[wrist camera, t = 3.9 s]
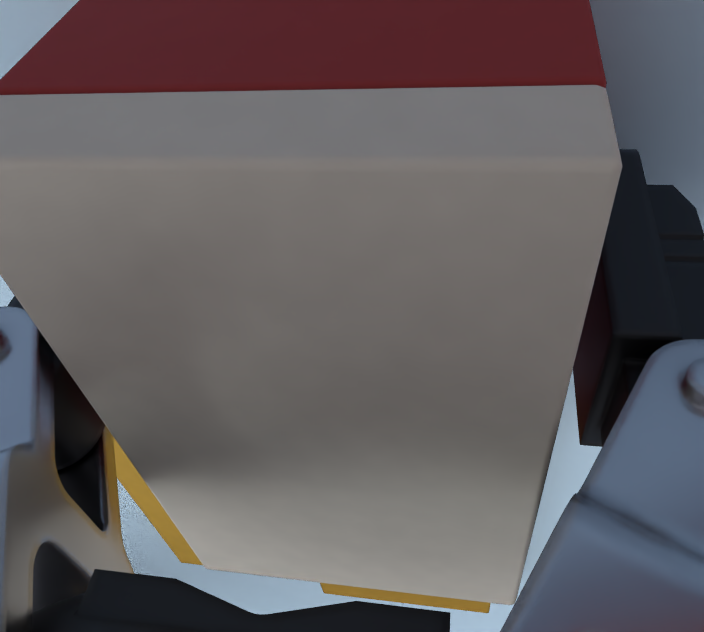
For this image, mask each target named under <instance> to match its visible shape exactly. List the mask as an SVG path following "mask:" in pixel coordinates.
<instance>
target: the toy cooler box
mask: <svg viewBox="0 0 704 632" xmlns="http://www.w3.org/2000/svg"><path fill="white" fill-rule="evenodd" d="M606 84H607V83H606V78H605V73H604V68H603V64H602V59H601V54H600V49H599V44H598V40H597V35H596V30H595V25H594V21H593V16H592V11H591V6H590V2H589V0H79V1H78V2H77V3H76V4H75V5H74V6H73V7H72V8H71V9H70V10H69V11H68V12H67V13H66V14H65V15H64V16H63V17H62V18H61V19H60V20H59V21H58V22H57V23H56V24H55V25H54V26H53V27H52V28H51V29H50V30H49V31H48V32H47V33H46V34H45V35H44V36H43V38H42V39H41V40H40V41H39V42H38V43H37V44H36V45H35V46H34V47H33V48H32V49H31V50H30V51H29V52H28V53H27V54H26V55H25V56H24V57H23V58H22V59H21V60H20V61H19V62H18V63H17V64H16V65H15V66H14V67H13V68H12V69H11V70H10V71H9V72H8V73H7V74H6V75H5V76H4V77H3V78H2V79H1V80H0V275H1V276H2V278H3V279H4V281H5V282H6V284H7V285H8V286H9V288H10V289H11V291H12V292H13V294H14V295H15V297H16V298H17V299H18V301H19V302H20V304H21V305H22V307H23V308H24V309H25V311H26V312H27V314H28V315H29V317H30V318H31V319H32V321H33V322H34V324H35V325H36V327H37V328H38V329H39V331H40V332H41V334H42V335H43V337H44V338H45V339H46V341H47V342H48V344H49V345H50V347H51V348H52V349H53V351H54V352H55V354H56V355H57V357H58V358H59V360H60V361H61V362H62V364H63V365H64V367H65V368H66V370H67V371H68V372H69V374H70V375H71V377H72V378H73V380H74V381H75V382H76V384H77V385H78V387H79V388H80V390H81V391H82V392H83V394H84V395H85V397H86V398H87V400H88V401H89V402H90V404H91V405H92V407H93V408H94V410H95V411H96V412H97V414H98V415H99V417H100V418H101V420H102V421H103V423H104V424H105V425H106V427H107V428H108V430H109V431H110V433H111V434H112V435H113V437H114V438H115V440H116V441H117V443H118V444H119V445H120V447H121V448H122V450H123V451H124V453H125V454H126V455H127V457H128V458H129V460H130V461H131V463H132V464H133V465H134V467H135V468H136V470H137V471H138V473H139V474H140V475H141V477H142V478H143V480H144V481H145V483H146V484H147V486H148V487H149V488H150V490H151V491H152V493H153V494H154V496H155V497H156V498H157V500H158V501H159V503H160V504H161V506H162V507H163V508H164V510H165V511H166V513H167V514H168V516H169V517H170V518H171V520H172V521H173V523H174V524H175V526H176V527H177V528H178V530H179V531H180V533H181V534H182V536H183V537H184V538H185V540H186V541H187V543H188V544H189V546H190V547H191V549H192V550H193V551H194V553H195V554H196V556H197V557H198V559H199V560H200V561H201V563H202V564H203V566H204V567H205V568H207V569H210V570H219V571H227V572H236V573H244V574H253V575H261V576H269V577H278V578H286V579H295V580H303V581H311V582H320V583H328V584H337V585H345V586H353V587H362V588H370V589H379V590H387V591H396V592H404V593H412V594H421V595H429V596H438V597H446V598H454V599H463V600H471V601H480V602H488V603H496V604H505V605H512V604H514V603H515V601H516V598H517V594H518V590H519V586H520V582H521V578H522V573H523V569H524V565H525V561H526V557H527V553H528V549H529V545H530V541H531V537H532V533H533V529H534V525H535V520H536V516H537V512H538V508H539V504H540V500H541V496H542V492H543V488H544V484H545V480H546V476H547V472H548V467H549V463H550V459H551V455H552V451H553V447H554V443H555V439H556V435H557V431H558V427H559V423H560V419H561V414H562V410H563V406H564V402H565V398H566V394H567V390H568V386H569V382H570V378H571V374H572V370H573V366H574V361H575V357H576V353H577V349H578V345H579V341H580V337H581V333H582V329H583V325H584V321H585V317H586V313H587V308H588V304H589V300H590V296H591V292H592V288H593V284H594V280H595V276H596V272H597V268H598V264H599V260H600V255H601V251H602V247H603V243H604V239H605V235H606V231H607V227H608V223H609V219H610V215H611V211H612V207H613V202H614V198H615V194H616V190H617V186H618V182H619V178H620V174H621V170H622V161H621V156H620V152H619V147H618V142H617V137H616V132H615V128H614V123H613V118H612V113H611V108H610V104H609V99H608V95H607V91H606Z"/></svg>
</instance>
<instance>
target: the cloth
mask: <svg viewBox="0 0 704 632" xmlns="http://www.w3.org/2000/svg"><path fill="white" fill-rule="evenodd" d="M113 439H114V451H115V463H116V475H117V478H118V480H119V481H120V482H121V484H122V485H123V486H124V488H125V489H126V490H127V492H128V493H129V494H130V496H131V497H132V498H133V499H134V501H135V502H136V503H137V505H138V506H139V507H140V509H141V510H142V511H143V513H144V514H145V515H146V517H147V518H148V519H149V521H150V522H151V523H152V525H153V526H154V527H155V529H156V530H157V531H158V533H159V534H160V535H161V536H162V538H163V539H164V540H165V542H166V543H167V544H168V546H169V547H170V548H171V550H172V551H173V552H174V554H175V555H176V556H177V558H178V559H179V560H180V562H182V563H190V564H198V565H203V564H202V563H201V561H200V560H199V559H198V557H197V556H196V554H195V553H194V551H193V550H192V549H191V547H190V546H189V544H188V543H187V541H186V540H185V538H184V537H183V536H182V534H181V533H180V531H179V530H178V528H177V527H176V526H175V524H174V523H173V521H172V520H171V518H170V517H169V516H168V514H167V513H166V511H165V510H164V508H163V507H162V506H161V504H160V503H159V501H158V500H157V498H156V497H155V496H154V494H153V493H152V491H151V490H150V488H149V487H148V486H147V484H146V483H145V481H144V480H143V478H142V477H141V475H140V474H139V473H138V471H137V470H136V468H135V467H134V465H133V464H132V463H131V461H130V460H129V458H128V457H127V455H126V454H125V453H124V451H123V450H122V448H121V447H120V445H119V444H118V443H117V441H116V440H115V438H114V437H113ZM320 584H321V587H322V589H323V592H324V593H327V594H335V595H343V596H351V597H359V598H368V599H376V600H384V601H392V602H401V603H409V604H417V605H425V606H433V607H442V608H450V609H458V610H466V611H475V612H483V613H489V609H490V603H488V602H480V601H471V600H463V599H454V598H446V597H438V596H429V595H421V594H412V593H404V592H396V591H387V590H379V589H370V588H362V587H353V586H345V585H337V584H328V583H320Z"/></svg>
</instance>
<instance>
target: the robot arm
mask: <svg viewBox="0 0 704 632" xmlns="http://www.w3.org/2000/svg"><path fill="white" fill-rule="evenodd" d="M619 152H620V156H621V161H622V170H621V174H620V178H619V182H618V186H617V190H616V194H615V198H614V202H613V207H612V211H611V215H610V219H609V223H608V227H607V231H606V235H605V239H604V243H603V247H602V251H601V255H600V260H599V264H598V268H597V272H596V276H595V280H594V284H593V288H592V292H591V296H590V300H589V304H588V308H587V313H586V317H585V321H584V325H583V329H582V333H581V337H580V341H579V345H578V349H577V353H576V357H575V361H574V366H573V374H574V385H575V396H576V407H577V418H578V429H579V440H580V445H588V446H601V447H602V449H601V451H600V453H599V455H598V457H597V459H596V461H595V462H594V464H593V466H592V468H591V470H590V472H589V474H588V476H587V478H586V480H585V482H584V484H583V485H582V487H581V489H580V490H579V492H578V493H577V494H576V493H575V494H574V495H573V497H572V498H571V500H570V501H569V503H568V505H567V506H566V508H565V510H564V512H563V513H562V515H561V517H560V519H559V521H558V523H557V525H556V526H555V528H554V530H553V532H552V534H551V536H550V538H549V540H548V542H547V544H546V545H545V547H544V549H543V551H542V553H541V555H540V557H539V559H538V561H537V563H536V565H535V566H534V568H533V570H532V572H531V574H530V576H529V578H528V580H527V582H526V584H525V586H524V587H523V589H522V591H521V593H520V595H519V597H518V599H517V601H516V603H515V605H514V606H513V608H512V610H511V612H510V614H509V616H508V618H507V620H506V622H505V624H504V626H503V627H502V629H501V631H500V632H704V233H703V230H702V226H701V223H700V220H699V217H698V214H697V210H696V208H695V207H694V206H693V205H692V204H691V203H690V202H689V201H688V200H687V199H686V198H685V197H684V196H683V195H682V194H681V193H680V192H679V191H678V190H677V189H676V188H675V187H674V186H673V185H647V184H646V180H645V176H644V171H643V167H642V163H641V159H640V155H639V152H638V150H636V149H619ZM0 632H450V613H449V612H441V611H432V610H424V609H416V608H408V607H400V606H392V605H384V604H376V603H368V602H360V601H353V602H347V603H340V604H333V605H327V606H320V607H313V608H307V609H300V610H293V611H287V612H280V613H273V614H265V615H259V614H253V613H250V612H248V611H246V610H243V609H241V608H239V607H237V606H235V605H232V604H230V603H228V602H226V601H224V600H221V599H219V598H217V597H215V596H213V595H210V594H208V593H206V592H204V591H202V590H199V589H197V588H195V587H193V586H191V585H188V584H186V583H184V582H182V581H180V580H177V579H174V578H166V577H158V576H149V575H141V574H134V572H133V569H132V566H131V564H130V562H129V559H128V557H127V555H126V552H125V549H124V545H123V540H122V534H121V522H120V510H119V498H118V487H117V475H116V463H115V451H114V439H113V435H112V434H111V433H110V431H109V430H108V428H107V427H106V425H105V424H104V423H103V421H102V420H101V418H100V417H99V415H98V414H97V412H96V411H95V410H94V408H93V407H92V405H91V404H90V402H89V401H88V400H87V398H86V397H85V395H84V394H83V392H82V391H81V390H80V388H79V387H78V385H77V384H76V382H75V381H74V380H73V378H72V377H71V375H70V374H69V372H68V371H67V370H66V368H65V367H64V365H63V364H62V362H61V361H60V360H59V358H58V357H57V355H56V354H55V352H54V351H53V349H52V348H51V347H50V345H49V344H48V342H47V341H46V339H45V338H44V337H43V335H42V334H41V332H40V331H39V329H38V328H37V327H36V325H35V324H34V322H33V321H32V319H31V318H30V317H29V315H28V314H27V312H26V311H25V309H24V308H23V307H22V305H21V304H20V302H19V301H18V299H17V298H16V297H15V296H14V297H13V299H12V300H11V302H10V303H9V305H8V306H7V307H5V306H4V307H0Z"/></svg>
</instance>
